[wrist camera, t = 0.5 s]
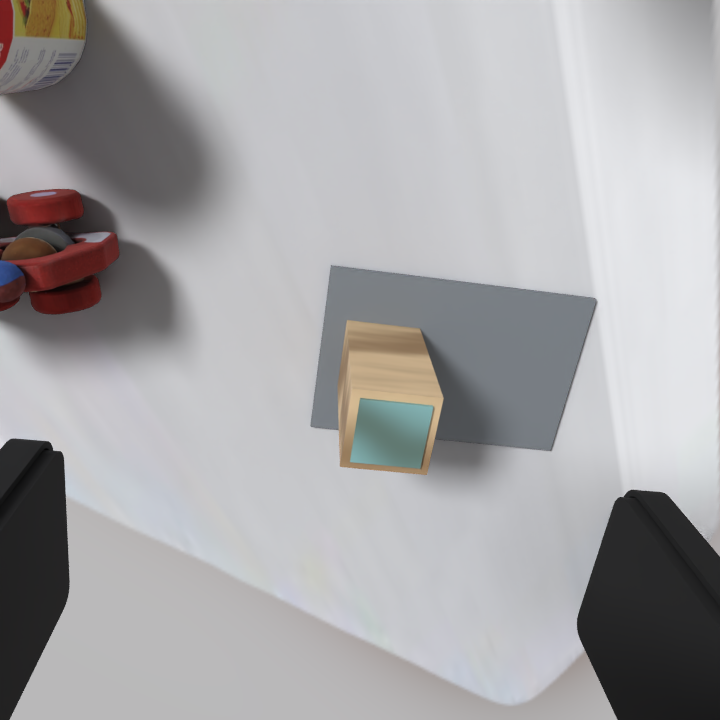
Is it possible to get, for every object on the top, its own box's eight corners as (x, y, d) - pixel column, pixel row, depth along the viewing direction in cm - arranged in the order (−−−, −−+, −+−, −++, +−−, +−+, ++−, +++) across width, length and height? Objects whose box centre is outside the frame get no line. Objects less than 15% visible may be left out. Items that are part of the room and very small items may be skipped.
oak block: (346, 320, 44) (352, 390, 35) (420, 328, 45) (444, 400, 36) (337, 385, 47) (340, 468, 37) (407, 393, 47) (427, 476, 38)
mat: (331, 265, 43) (331, 267, 43) (594, 297, 45) (596, 300, 45) (310, 424, 48) (310, 426, 48) (548, 447, 50) (550, 450, 50)
